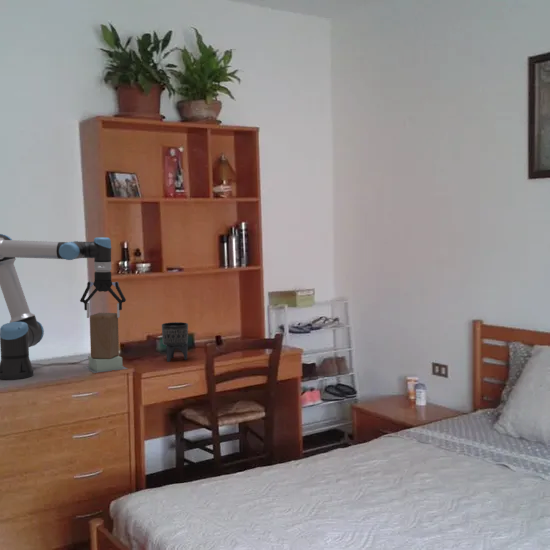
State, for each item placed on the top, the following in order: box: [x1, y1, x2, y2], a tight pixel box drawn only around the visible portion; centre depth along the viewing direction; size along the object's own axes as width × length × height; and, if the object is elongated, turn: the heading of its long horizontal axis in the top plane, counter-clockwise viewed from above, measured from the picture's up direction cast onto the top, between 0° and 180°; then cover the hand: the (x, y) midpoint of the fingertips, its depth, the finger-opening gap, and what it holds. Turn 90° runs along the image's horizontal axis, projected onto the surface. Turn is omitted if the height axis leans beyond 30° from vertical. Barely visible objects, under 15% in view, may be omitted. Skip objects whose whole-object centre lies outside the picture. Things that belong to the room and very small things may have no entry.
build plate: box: [83, 365, 129, 374], centre depth 311 cm, size 16×16×1 cm
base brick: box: [88, 355, 124, 372], centre depth 310 cm, size 12×12×5 cm
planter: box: [161, 321, 189, 363], centre depth 333 cm, size 13×13×18 cm
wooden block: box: [89, 312, 120, 359], centre depth 309 cm, size 10×10×20 cm
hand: (103, 317), depth 309 cm, fingers open, 13 cm apart
